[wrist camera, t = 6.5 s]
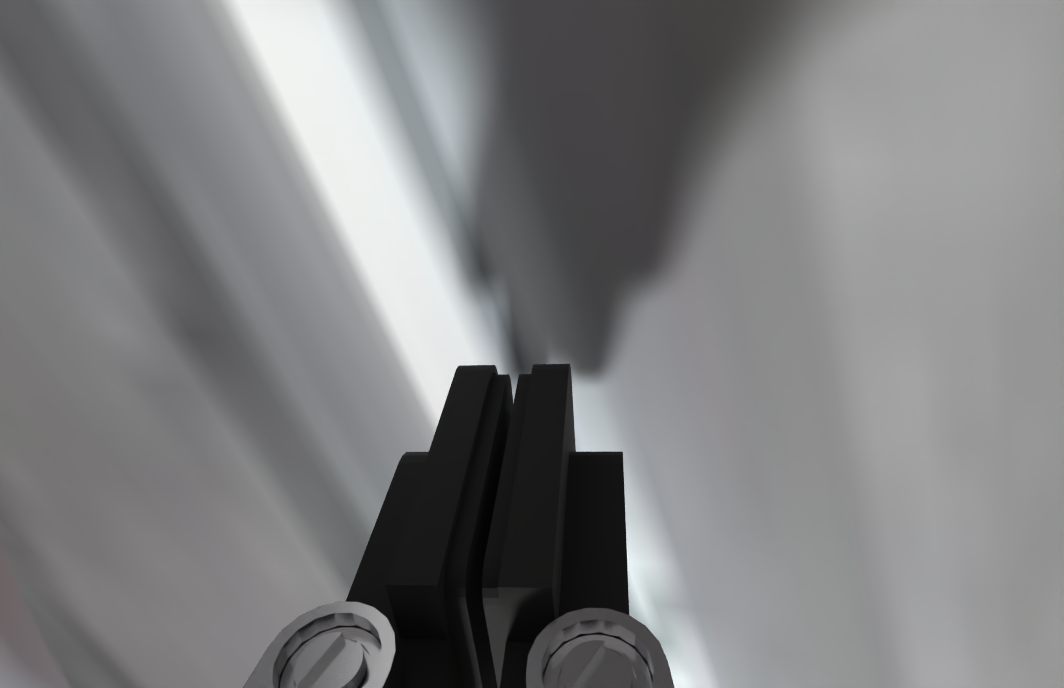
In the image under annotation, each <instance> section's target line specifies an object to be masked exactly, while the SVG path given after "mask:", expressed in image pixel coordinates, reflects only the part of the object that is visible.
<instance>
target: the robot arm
mask: <svg viewBox="0 0 1064 688" xmlns="http://www.w3.org/2000/svg"><path fill="white" fill-rule="evenodd" d="M243 688H674V684H673V680H672V676H671V672H670V668H669V665H668V661H667V658H666V656H665V654H664V652H663V649H662V647H661V645H660V642H659V641H658V640H657V639H656V637H655V636H654V635H653V634H652V633H651V632H650V630H649V629H648V628H647V627H646V626H645V625H643V624H642V623H640V622H639V621H637V620H636V619H634V618H633V617H631V616H629V599H628V574H627V548H626V523H625V497H624V472H623V452H576V450H575V432H574V415H573V397H572V379H571V367H570V364H535V365H533V368H532V374H520V375H519V378H518V383H517V388H516V393H515V399H514V404H513V396H512V387H511V380H510V376H509V374H508V375H498V372H497V369H496V366H495V365H473V366H458V367H457V369H456V372H455V375H454V378H453V381H452V384H451V387H450V390H449V393H448V396H447V399H446V402H445V405H444V408H443V411H442V414H441V417H440V420H439V423H438V426H437V429H436V432H435V435H434V438H433V441H432V444H431V447H430V450H429V452H406V453H405V454H404V455H403V456H402V458H401V460H400V461H399V464H398V466H397V469H396V471H395V474H394V477H393V479H392V482H391V484H390V487H389V490H388V492H387V495H386V498H385V500H384V503H383V505H382V508H381V511H380V513H379V516H378V518H377V521H376V524H375V526H374V529H373V532H372V534H371V537H370V539H369V542H368V545H367V547H366V550H365V552H364V555H363V558H362V560H361V563H360V566H359V568H358V571H357V573H356V576H355V579H354V581H353V584H352V586H351V589H350V592H349V594H348V597H347V599H346V602H335V603H331V604H327V605H323V606H319V607H317V608H315V609H313V610H311V611H309V612H307V613H305V614H303V615H301V616H299V617H298V618H296V619H295V620H294V621H293V622H291V623H290V624H289V625H288V626H286V627H285V628H284V629H283V630H282V631H281V632H280V633H279V634H278V636H277V637H276V638H275V639H274V640H273V642H272V643H271V644H270V645H269V647H268V648H267V650H266V651H265V653H264V654H263V656H262V658H261V659H260V661H259V662H258V664H257V666H256V667H255V669H254V670H253V672H252V674H251V675H250V677H249V678H248V680H247V682H246V683H245V685H244V686H243Z"/></svg>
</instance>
